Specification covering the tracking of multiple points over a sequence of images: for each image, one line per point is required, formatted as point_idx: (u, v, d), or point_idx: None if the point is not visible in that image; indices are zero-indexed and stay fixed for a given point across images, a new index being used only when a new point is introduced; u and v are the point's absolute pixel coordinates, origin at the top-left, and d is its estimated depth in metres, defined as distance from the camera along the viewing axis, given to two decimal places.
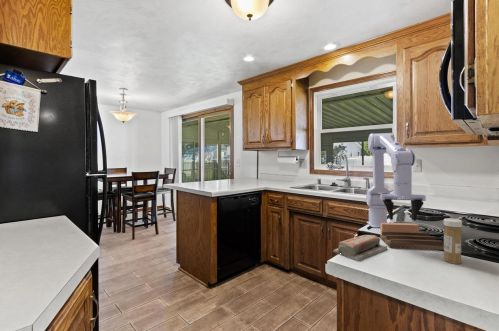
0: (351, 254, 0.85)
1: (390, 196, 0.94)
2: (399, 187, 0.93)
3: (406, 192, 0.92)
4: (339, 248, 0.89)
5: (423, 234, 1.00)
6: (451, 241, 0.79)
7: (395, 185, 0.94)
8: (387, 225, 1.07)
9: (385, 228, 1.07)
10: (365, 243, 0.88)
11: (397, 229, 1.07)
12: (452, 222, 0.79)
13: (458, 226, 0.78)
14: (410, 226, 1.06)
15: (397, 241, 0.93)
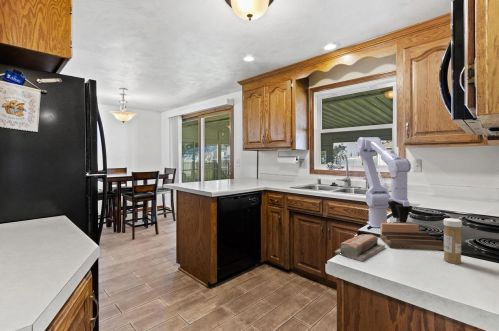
0: (354, 254, 0.84)
1: (391, 197, 1.12)
2: None
3: (392, 195, 1.07)
4: (341, 249, 0.88)
5: (423, 234, 1.00)
6: (451, 241, 0.79)
7: None
8: (387, 225, 1.07)
9: (385, 228, 1.08)
10: (366, 243, 0.89)
11: (397, 229, 1.07)
12: (452, 222, 0.79)
13: (458, 226, 0.78)
14: (410, 226, 1.06)
15: (397, 241, 0.93)
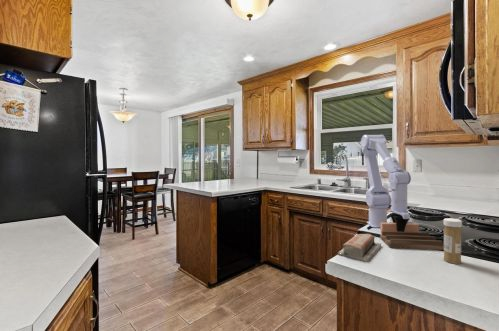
0: (359, 255, 0.84)
1: (391, 208, 1.12)
2: None
3: (392, 206, 1.07)
4: (345, 250, 0.86)
5: (423, 234, 1.00)
6: (451, 241, 0.79)
7: None
8: (387, 225, 1.07)
9: (385, 228, 1.07)
10: (367, 243, 0.89)
11: None
12: (452, 222, 0.79)
13: (458, 226, 0.78)
14: (410, 226, 1.06)
15: (397, 241, 0.93)
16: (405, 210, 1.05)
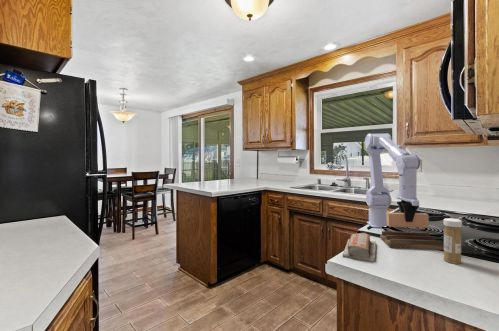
0: (366, 256, 0.83)
1: (398, 196, 1.04)
2: None
3: (400, 193, 0.99)
4: (350, 252, 0.85)
5: (423, 234, 1.00)
6: (451, 241, 0.79)
7: None
8: (394, 215, 0.99)
9: (392, 218, 0.99)
10: (368, 242, 0.89)
11: None
12: (452, 222, 0.79)
13: (458, 226, 0.78)
14: (419, 216, 0.97)
15: (397, 241, 0.93)
16: (414, 197, 0.96)
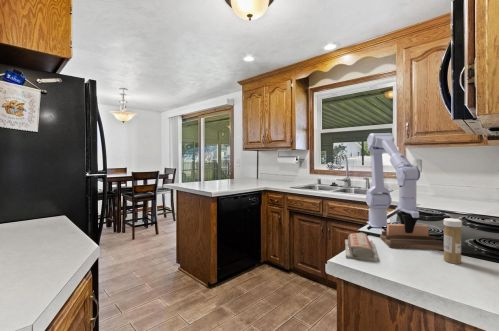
0: (369, 256, 0.83)
1: (398, 206, 1.04)
2: None
3: (400, 204, 0.99)
4: (354, 253, 0.84)
5: None
6: (451, 241, 0.79)
7: None
8: (394, 226, 0.99)
9: (392, 230, 0.99)
10: (369, 242, 0.90)
11: (405, 231, 0.99)
12: (452, 222, 0.79)
13: (458, 226, 0.78)
14: (419, 227, 0.98)
15: (397, 241, 0.93)
16: (414, 208, 0.97)
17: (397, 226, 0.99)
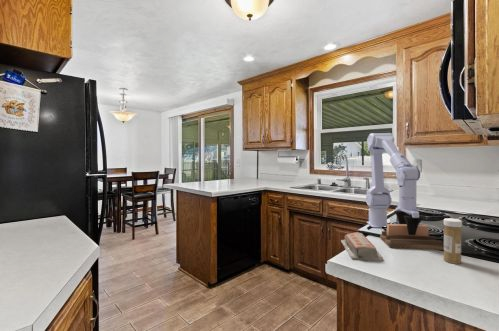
0: (374, 255, 0.83)
1: (398, 206, 1.04)
2: None
3: (400, 204, 0.99)
4: (360, 253, 0.84)
5: None
6: (451, 241, 0.79)
7: None
8: (394, 226, 0.99)
9: (392, 230, 0.99)
10: (369, 241, 0.90)
11: (405, 231, 0.99)
12: (452, 222, 0.79)
13: (458, 226, 0.78)
14: (419, 227, 0.98)
15: (397, 241, 0.93)
16: (414, 208, 0.97)
17: (397, 226, 0.99)
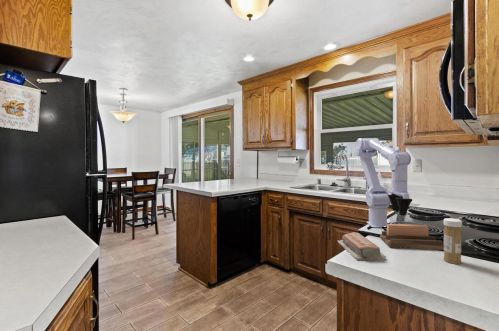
0: (378, 255, 0.83)
1: (391, 190, 1.12)
2: None
3: (392, 188, 1.07)
4: (364, 254, 0.83)
5: None
6: (451, 241, 0.79)
7: None
8: (394, 226, 0.99)
9: (392, 230, 0.99)
10: None
11: (405, 231, 0.99)
12: (452, 222, 0.79)
13: (458, 226, 0.78)
14: (419, 227, 0.98)
15: (397, 241, 0.93)
16: (405, 191, 1.04)
17: (397, 226, 0.99)
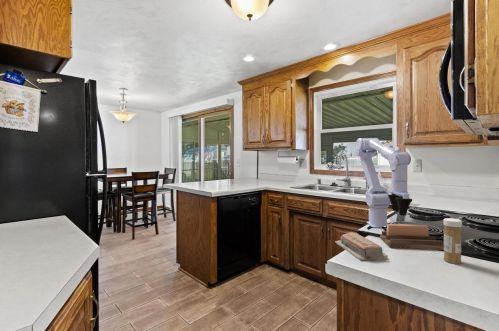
0: (380, 254, 0.84)
1: (391, 190, 1.12)
2: None
3: (392, 188, 1.07)
4: (368, 254, 0.83)
5: None
6: (451, 241, 0.79)
7: None
8: (394, 226, 0.99)
9: (392, 230, 0.99)
10: None
11: (405, 231, 0.99)
12: (452, 222, 0.79)
13: (458, 226, 0.78)
14: (419, 227, 0.98)
15: (397, 241, 0.93)
16: (405, 191, 1.04)
17: (397, 226, 0.99)
